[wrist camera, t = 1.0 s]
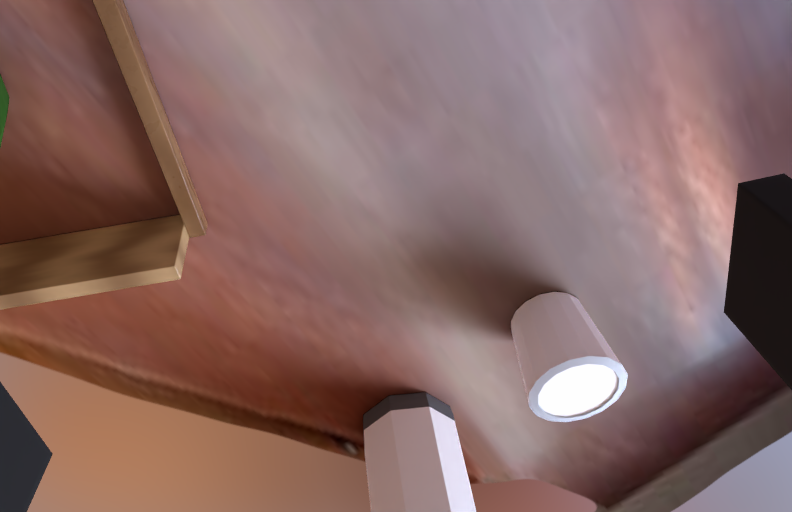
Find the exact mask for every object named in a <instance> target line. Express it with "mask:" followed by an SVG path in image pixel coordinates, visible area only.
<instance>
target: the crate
mask: <svg viewBox="0 0 792 512" xmlns="http://www.w3.org/2000/svg"><path fill="white" fill-rule="evenodd" d="M92 1H93V3H94V6H95V8H96V10H97V13H98V15H99V18H100V20H101V23H102V25H103V28H104V30H105V32H106V35H107V37H108V40H109V42H110V45H111V47H112V50H113V52H114V54H115V57H116V59H117V62H118V64H119V67H120V69H121V72H122V74H123V76H124V79H125V81H126V84H127V86H128V89H129V91H130V94H131V96H132V98H133V101H134V103H135V106H136V108H137V111H138V113H139V116H140V118H141V120H142V123H143V125H144V128H145V130H146V133H147V135H148V138H149V140H150V142H151V145H152V147H153V150H154V152H155V155H156V157H157V160H158V162H159V164H160V167H161V169H162V172H163V174H164V177H165V179H166V182H167V184H168V187H169V189H170V191H171V194H172V196H173V199H174V201H175V204H176V206H177V209H178V211H179V213H180V215H175V216H169V217H163V218H157V219H151V220H145V221H139V222H133V223H127V224H121V225H116V226H110V227H104V228H98V229H92V230H86V231H80V232H74V233H68V234H62V235H56V236H50V237H44V238H38V239H32V240H26V241H20V242H14V243H8V244H2V245H0V310H2V309H7V308H13V307H19V306H25V305H31V304H37V303H43V302H49V301H54V300H60V299H66V298H72V297H78V296H84V295H90V294H96V293H102V292H107V291H113V290H119V289H125V288H131V287H137V286H143V285H149V284H154V283H160V282H166V281H172V280H178V279H181V274H182V269H183V264H184V259H185V254H186V250H187V245H188V240H189V237H190V238H191V237H197V236H202V235H206V229H207V221H206V218H205V216H204V213H203V210H202V208H201V205H200V202H199V200H198V197H197V194H196V192H195V189H194V187H193V184H192V181H191V179H190V176H189V173H188V171H187V168H186V165H185V163H184V160H183V158H182V155H181V152H180V150H179V147H178V144H177V142H176V139H175V136H174V134H173V131H172V129H171V126H170V123H169V121H168V118H167V115H166V113H165V110H164V107H163V105H162V102H161V100H160V97H159V94H158V92H157V89H156V86H155V84H154V81H153V78H152V76H151V73H150V70H149V68H148V65H147V63H146V60H145V57H144V55H143V52H142V49H141V47H140V44H139V41H138V39H137V36H136V34H135V31H134V28H133V26H132V23H131V20H130V18H129V15H128V12H127V10H126V7H125V5H124V2H123V0H92Z"/></svg>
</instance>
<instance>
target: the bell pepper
mask: <svg viewBox="0 0 792 512" xmlns="http://www.w3.org/2000/svg"><path fill="white" fill-rule="evenodd" d="M8 104H9V95H8V93H7V90H6V88H5V85H4V82H3V80H2V77H1V75H0V147H1V142H2V137H3V132H4V127H5V122H6V117H7V112H8Z"/></svg>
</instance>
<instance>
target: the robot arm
mask: <svg viewBox="0 0 792 512" xmlns="http://www.w3.org/2000/svg"><path fill="white" fill-rule="evenodd" d="M724 313H725V314H726V315H727V316H728V317H729V319H730V320H731V321H732V322H733V323H734V324H735V325H736V327H737V328H738V329H739V330H740V331H741V332H742V333H743V335H744V336H745V337H746V338H747V339H748V340H749V341H750V343H751V344H752V345H753V346H754V347H755V348H756V350H757V351H758V352H759V353H760V354H761V355H762V356H763V358H764V359H765V360H766V361H767V362H768V363H769V364H770V366H771V367H772V368H773V369H774V370H775V371H776V373H777V374H778V375H779V376H780V377H781V378H782V379H783V381H784V382H785V383H786V384H787V385H788V386H789V387H790V389H791V390H792V179H791V178H790V177H788V176H787V175H785V174H780V175H775V176H771V177H766V178H761V179H757V180H752V181H747V182H743V183H738V191H737V200H736V209H735V218H734V227H733V236H732V245H731V254H730V263H729V272H728V280H727V289H726V298H725V307H724ZM51 456H52V452H50V450H49V448H48V447H47V446H46V444H45V443H44V441H43V440H42V439H41V437H40V436H39V435H38V433H37V432H36V430H35V429H34V428H33V426H32V425H31V424H30V422H29V421H28V419H27V418H26V417H25V415H24V414H23V412H22V411H21V410H20V408H19V407H18V406H17V404H16V403H15V401H14V400H13V399H12V397H11V396H10V395H9V393H8V392H7V390H6V389H5V388H4V386H3V385H2V384H1V382H0V512H27V510H28V508H29V505H30V503H31V501H32V499H33V496H34V494H35V492H36V490H37V488H38V485H39V483H40V481H41V479H42V476H43V474H44V472H45V469H46V467H47V465H48V463H49V461H50V458H51Z"/></svg>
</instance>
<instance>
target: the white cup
mask: <svg viewBox="0 0 792 512" xmlns="http://www.w3.org/2000/svg"><path fill="white" fill-rule="evenodd" d="M511 332H512V336H513V340H514V345H515V349H516V353H517V357H518V361H519V366H520V370H521V374H522V378H523V383H524V387H525V391H526V395H527V399H528V404H529V407H530V408H531V409H532V411H533V412H534V413H535V414H536V415H537V416H538V417H541V418H543V419H546V420H548V421H556V422H570V421H575V420H580V419H585V418H588V417H590V416H592V415H595V414H597V413H599V412H601V411H603V410H605V409H606V408H607V407H609V406H610V405H611V404H612V403H614V402H615V401H616V400H618V398H619V397H620V395H621V394H622V392H623V391H624V389H625V388H626V383H627V375H628V374H627V373H626V371H625V369H624V368H623V366H622V364H621V363H620V361H619V360H618V358H617V357H616V355H615V354H614V352H613V351H612V349H611V348H610V346H609V345H608V343H607V342H606V340H605V339H604V337H603V336H602V334H601V333H600V331H599V330H598V328H597V327H596V325H595V324H594V322H593V321H592V319H591V318H590V316H589V315H588V313H587V312H586V310H585V309H584V307H583V306H582V304H581V303H580V301H579V300H578V298H576V297H574V296H572V295H570V294H568V293H562V292H550V293H545V294H540V295H538V296H536V297H534V298H532V299H530V300H528V301H526V302H525V303H524V304H523V305H522V306H521V307H519V308H518V309H517V310H516V312H515V314H514V316H513V318H512V320H511Z"/></svg>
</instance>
